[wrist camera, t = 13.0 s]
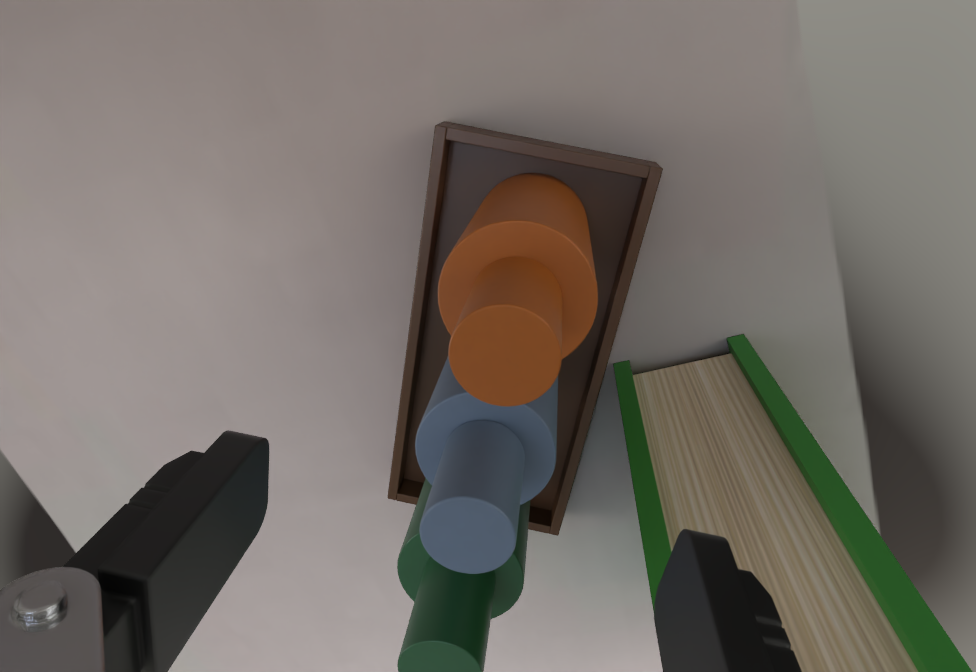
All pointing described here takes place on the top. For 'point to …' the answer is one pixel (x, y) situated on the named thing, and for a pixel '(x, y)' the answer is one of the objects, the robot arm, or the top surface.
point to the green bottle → (454, 602)
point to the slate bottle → (481, 472)
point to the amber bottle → (518, 290)
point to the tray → (615, 247)
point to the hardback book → (772, 513)
